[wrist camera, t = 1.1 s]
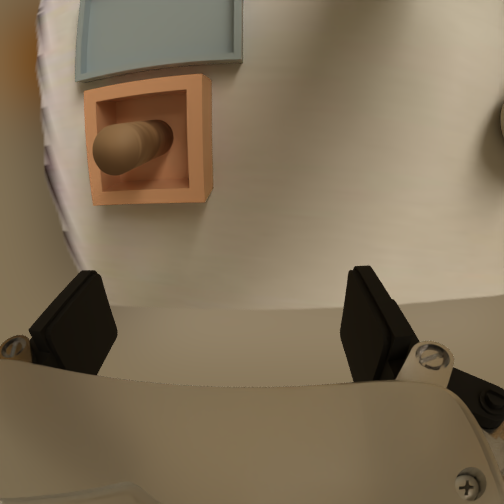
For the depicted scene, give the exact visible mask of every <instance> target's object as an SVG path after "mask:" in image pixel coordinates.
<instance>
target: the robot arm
mask: <svg viewBox="0 0 504 504" xmlns="http://www.w3.org/2000/svg"><path fill="white" fill-rule="evenodd" d="M29 332H30V334H31V336H32V338H31V339H30V340H29V338H28V337H26V336H24V335H16V336H13V337H11V338H9V339H7V340H6V341H5V342H3V343H2V345H1V346H0V504H504V390H503V389H502V388H500V387H498V386H496V385H494V384H491V383H489V382H487V381H484V380H482V379H480V378H477V377H475V376H472V375H470V374H468V373H465V372H463V371H460V370H458V369H456V368H454V367H453V365H454V356H453V354H452V352H451V351H450V350H449V349H448V348H447V347H446V346H444V345H442V344H440V343H438V342H434V341H422V342H419V340H418V338H417V337H416V335H415V333H414V331H413V330H412V328H411V326H410V324H409V323H408V321H407V319H406V318H405V317H404V315H403V313H402V311H401V310H400V308H399V306H398V305H397V303H396V302H395V301H394V300H393V299H391V297H390V296H389V294H388V292H387V291H386V289H385V288H384V286H383V285H382V283H381V281H380V280H379V278H378V277H377V275H376V274H375V272H374V271H373V269H372V268H371V266H355V267H354V269H353V270H350V271H349V273H348V280H347V288H346V295H345V302H344V309H343V316H342V322H341V328H340V337H341V341H342V344H343V348H344V351H345V354H346V357H347V361H348V364H349V367H350V371H351V374H352V378H353V381H354V382H352V383H336V384H322V385H307V386H285V387H213V386H192V385H176V384H162V383H152V382H143V381H134V380H126V379H117V378H111V377H104V376H97V373H98V371H99V370H100V368H101V366H102V364H103V362H104V360H105V358H106V356H107V355H108V353H109V351H110V349H111V347H112V345H113V343H114V342H115V340H116V338H117V327H116V324H115V321H114V318H113V315H112V312H111V309H110V306H109V302H108V299H107V296H106V292H105V289H104V285H103V282H102V278H101V276H100V275H99V274H97V272H96V271H95V270H82V271H81V272H80V273H79V274H78V275H77V276H76V277H75V278H74V279H73V280H72V281H71V282H70V283H69V284H68V285H67V287H66V288H65V289H64V290H63V291H62V292H61V293H60V294H59V295H58V296H57V298H56V299H55V300H54V301H53V302H52V303H51V304H50V305H49V306H48V308H47V309H46V310H45V311H44V312H43V313H42V315H41V316H40V317H39V318H38V319H37V320H36V321H35V323H34V324H33V325H32V326H31V328H30V329H29Z"/></svg>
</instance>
